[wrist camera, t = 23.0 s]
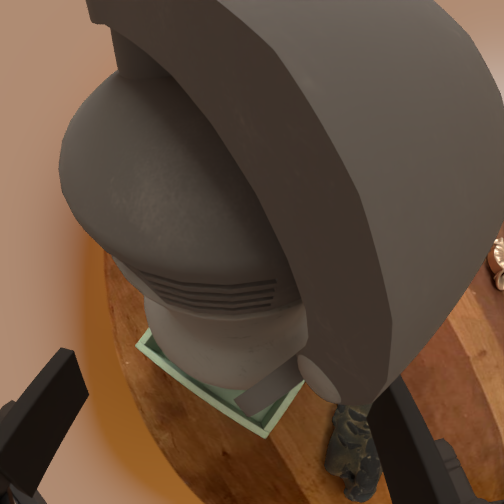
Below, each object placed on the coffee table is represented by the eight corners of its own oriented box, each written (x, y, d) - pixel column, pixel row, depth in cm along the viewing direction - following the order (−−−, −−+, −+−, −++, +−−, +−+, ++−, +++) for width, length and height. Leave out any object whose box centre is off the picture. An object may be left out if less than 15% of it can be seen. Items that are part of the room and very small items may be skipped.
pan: (261, 430, 24) (265, 439, 19) (153, 354, 27) (134, 345, 22) (331, 323, 29) (348, 307, 24) (227, 259, 32) (224, 232, 27)
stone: (392, 368, 27) (418, 360, 22) (379, 487, 20) (403, 500, 16) (331, 367, 27) (348, 360, 22) (315, 492, 21) (330, 509, 16)
